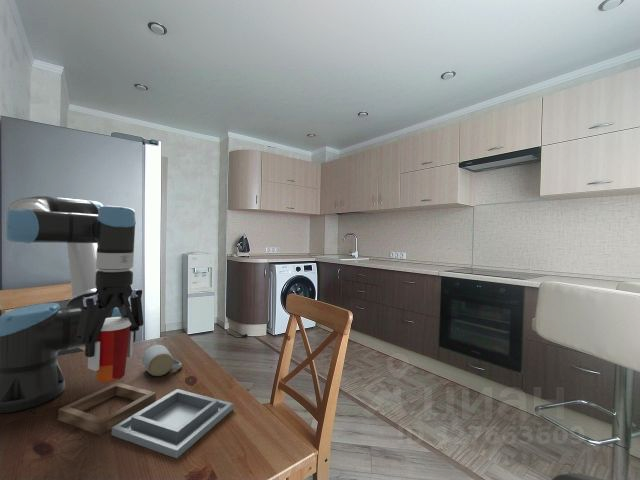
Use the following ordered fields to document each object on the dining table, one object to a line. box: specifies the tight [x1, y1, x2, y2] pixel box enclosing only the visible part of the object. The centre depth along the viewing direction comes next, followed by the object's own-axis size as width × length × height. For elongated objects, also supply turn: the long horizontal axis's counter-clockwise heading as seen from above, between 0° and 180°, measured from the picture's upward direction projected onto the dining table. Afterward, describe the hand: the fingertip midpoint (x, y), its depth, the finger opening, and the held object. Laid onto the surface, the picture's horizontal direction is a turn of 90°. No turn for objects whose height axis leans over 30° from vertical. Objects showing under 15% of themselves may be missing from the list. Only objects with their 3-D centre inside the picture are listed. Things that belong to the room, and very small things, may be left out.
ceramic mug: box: [141, 344, 183, 377], centre depth 94 cm, size 11×8×8 cm
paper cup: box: [95, 317, 131, 384], centre depth 73 cm, size 8×8×14 cm
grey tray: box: [111, 388, 234, 459], centre depth 69 cm, size 18×18×3 cm
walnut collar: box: [57, 381, 157, 436], centre depth 72 cm, size 14×14×2 cm
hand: (111, 362), depth 73 cm, fingers closed on paper cup, 8 cm apart
